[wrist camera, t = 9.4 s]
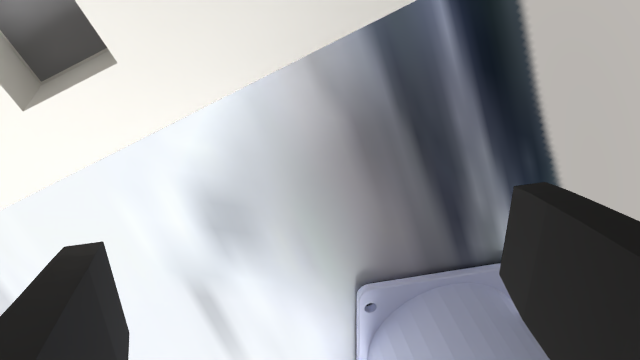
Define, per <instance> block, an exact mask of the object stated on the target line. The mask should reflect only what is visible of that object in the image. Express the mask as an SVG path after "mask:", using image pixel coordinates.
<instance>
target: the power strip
mask: <svg viewBox="0 0 640 360" xmlns="http://www.w3.org/2000/svg"><path fill="white" fill-rule="evenodd" d="M414 1H416V0H0V210H2V209H4V208H6V207H8V206H10V205H12V204H14V203H16V202H18V201H20V200H22V199H24V198H26V197H28V196H30V195H32V194H34V193H36V192H38V191H40V190H42V189H44V188H46V187H48V186H50V185H52V184H54V183H56V182H58V181H60V180H62V179H64V178H66V177H68V176H70V175H72V174H74V173H76V172H78V171H80V170H82V169H84V168H86V167H87V166H89V165H91V164H93V163H95V162H97V161H99V160H101V159H103V158H105V157H107V156H109V155H111V154H113V153H115V152H117V151H119V150H121V149H123V148H125V147H127V146H129V145H131V144H133V143H135V142H137V141H139V140H141V139H143V138H145V137H147V136H149V135H151V134H153V133H155V132H157V131H159V130H161V129H163V128H165V127H167V126H169V125H171V124H173V123H175V122H177V121H178V120H180V119H182V118H184V117H186V116H188V115H190V114H192V113H194V112H196V111H198V110H200V109H202V108H204V107H206V106H208V105H210V104H212V103H214V102H216V101H218V100H220V99H222V98H224V97H226V96H228V95H230V94H232V93H234V92H236V91H238V90H240V89H242V88H244V87H246V86H248V85H250V84H252V83H254V82H256V81H258V80H260V79H262V78H264V77H266V76H268V75H270V74H271V73H273V72H275V71H277V70H279V69H281V68H283V67H285V66H287V65H289V64H291V63H293V62H295V61H297V60H299V59H301V58H303V57H305V56H307V55H309V54H311V53H313V52H315V51H317V50H319V49H321V48H323V47H325V46H327V45H329V44H331V43H333V42H335V41H337V40H339V39H341V38H343V37H345V36H347V35H349V34H351V33H353V32H355V31H357V30H359V29H361V28H362V27H364V26H366V25H368V24H370V23H372V22H374V21H376V20H378V19H380V18H382V17H384V16H386V15H388V14H390V13H392V12H394V11H396V10H398V9H400V8H402V7H404V6H406V5H408V4H410V3H412V2H414Z"/></svg>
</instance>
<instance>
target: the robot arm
mask: <svg viewBox="0 0 640 360" xmlns="http://www.w3.org/2000/svg"><path fill="white" fill-rule="evenodd" d="M369 303H373V304H372V305H370V306H366V305H367V304H369ZM128 351H129V330H128V327H127V323H126V320H125V316H124V313H123V309H122V306H121V302H120V299H119V295H118V292H117V288H116V285H115V281H114V278H113V274H112V271H111V267H110V264H109V260H108V257H107V253H106V250H105V246H104V243H103V242H96V243H89V244H82V245H74V246H67V247H63V249H62V250H61V251H60V252H59V253H58V254H57V255H56V256H55V257H54V258H53V259H52V260H51V261H50V262H49V263H48V265H47V266H46V267H45V268H44V269H43V270H42V271H41V272H40V273H39V275H38V276H37V277H36V278H35V279H34V280H33V281H32V282H31V284H30V285H29V286H28V287H27V288H26V289H25V290H24V291H23V292H22V294H21V295H20V296H19V297H18V298H17V299H16V300H15V301H14V302H13V303H12V305H11V306H10V307H9V308H8V309H7V310H6V311H5V312H4V313H3V314H2V315H1V316H0V360H128ZM357 360H640V221H637V220H635V219H633V218H631V217H628V216H626V215H624V214H622V213H619V212H617V211H615V210H613V209H610V208H608V207H606V206H603V205H601V204H599V203H596V202H594V201H592V200H590V199H587V198H585V197H583V196H580V195H578V194H576V193H573V192H571V191H568V190H566V189H563V188H560V187H558V186H555V185H552V184H549V183H546V182H542V183H535V184H527V185H520V186H514V189H513V195H512V201H511V207H510V213H509V218H508V224H507V230H506V236H505V242H504V248H503V254H502V260H501V263H499V264H492V265H486V266H479V267H473V268H467V269H460V270H454V271H447V272H441V273H435V274H428V275H422V276H416V277H409V278H403V279H396V280H390V281H384V282H377V283H371V284H367V285H364V286H362V287H361V288H360V289H359V290H358V292H357Z"/></svg>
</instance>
